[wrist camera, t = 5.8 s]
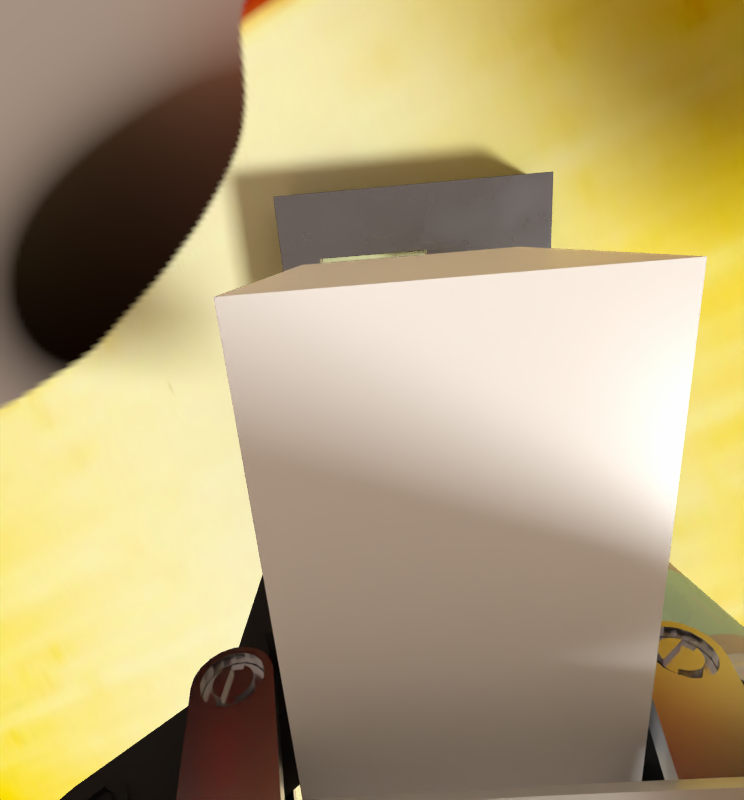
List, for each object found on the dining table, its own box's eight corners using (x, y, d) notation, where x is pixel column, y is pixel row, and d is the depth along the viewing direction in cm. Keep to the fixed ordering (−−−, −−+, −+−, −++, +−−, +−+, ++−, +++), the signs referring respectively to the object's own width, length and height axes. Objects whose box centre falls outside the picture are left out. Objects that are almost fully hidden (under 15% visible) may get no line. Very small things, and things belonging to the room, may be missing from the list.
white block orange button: (482, 244, 14) (755, 259, 4) (487, 648, 18) (620, 1132, 8) (320, 258, 14) (190, 303, 4) (363, 656, 18) (351, 1141, 8)
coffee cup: (566, 556, 35) (654, 709, 24) (689, 523, 34) (843, 666, 23) (590, 646, 38) (680, 824, 26) (705, 618, 37) (851, 790, 25)
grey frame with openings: (534, 178, 27) (553, 171, 24) (528, 497, 34) (542, 523, 31) (285, 200, 28) (273, 196, 25) (324, 509, 34) (318, 536, 31)
